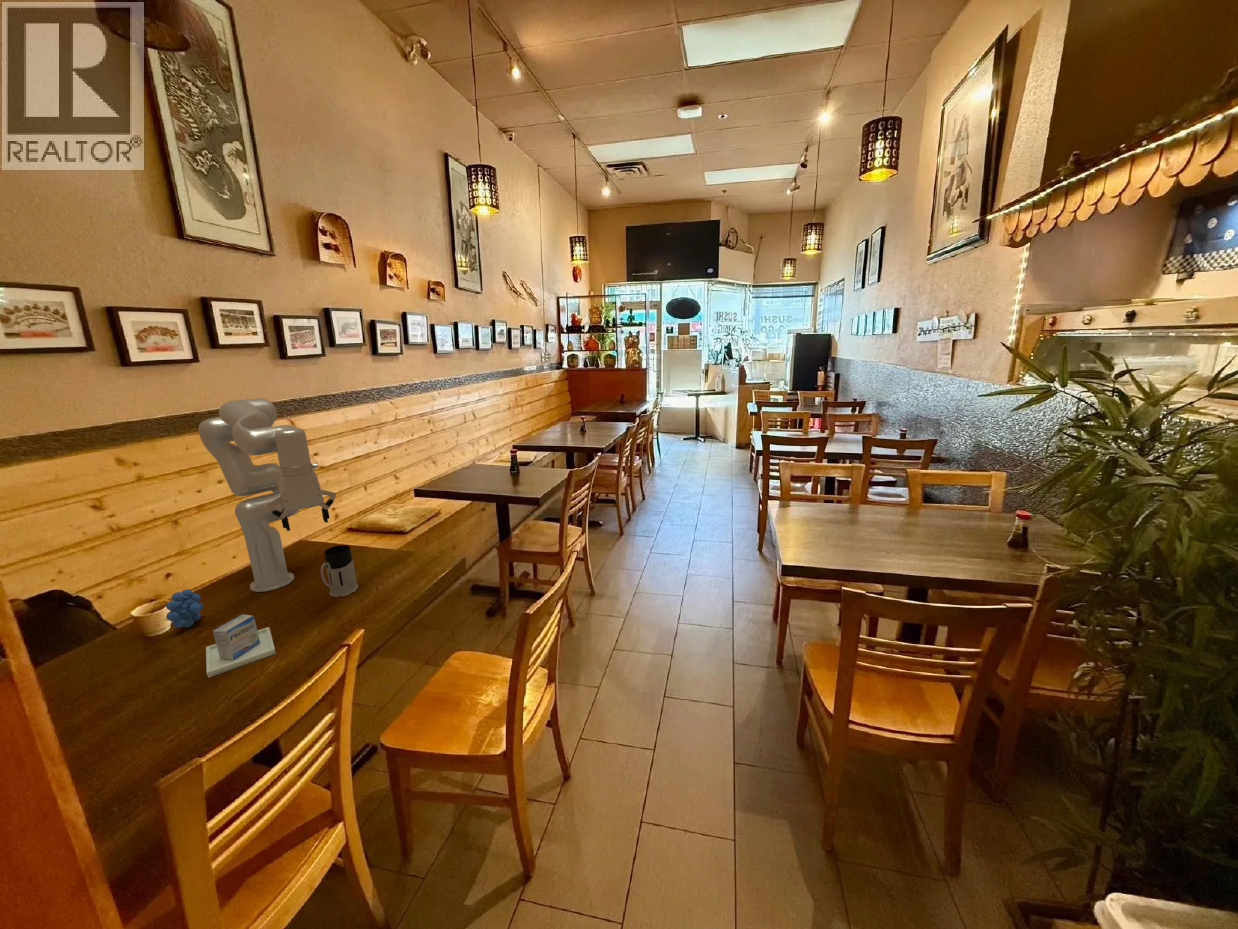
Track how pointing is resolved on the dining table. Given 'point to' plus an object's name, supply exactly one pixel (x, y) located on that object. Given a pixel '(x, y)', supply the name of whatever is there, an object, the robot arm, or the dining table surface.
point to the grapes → (184, 608)
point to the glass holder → (339, 571)
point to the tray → (252, 655)
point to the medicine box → (236, 637)
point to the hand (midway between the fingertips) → (307, 525)
